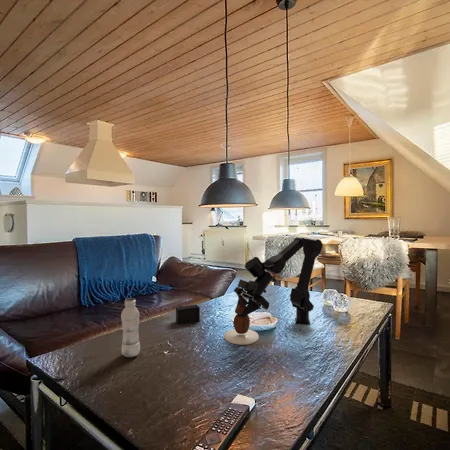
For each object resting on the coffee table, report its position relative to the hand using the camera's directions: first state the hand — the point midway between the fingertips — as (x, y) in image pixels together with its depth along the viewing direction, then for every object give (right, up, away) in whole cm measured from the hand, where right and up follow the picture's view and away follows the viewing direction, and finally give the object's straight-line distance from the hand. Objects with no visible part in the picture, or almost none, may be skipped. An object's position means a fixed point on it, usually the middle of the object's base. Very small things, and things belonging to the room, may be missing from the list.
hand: (238, 314), depth 120 cm
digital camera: (-23, -9, +19) cm, 31 cm away
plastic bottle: (-39, -10, -14) cm, 43 cm away
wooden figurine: (+1, -8, +1) cm, 8 cm away
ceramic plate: (+1, -10, +1) cm, 10 cm away
